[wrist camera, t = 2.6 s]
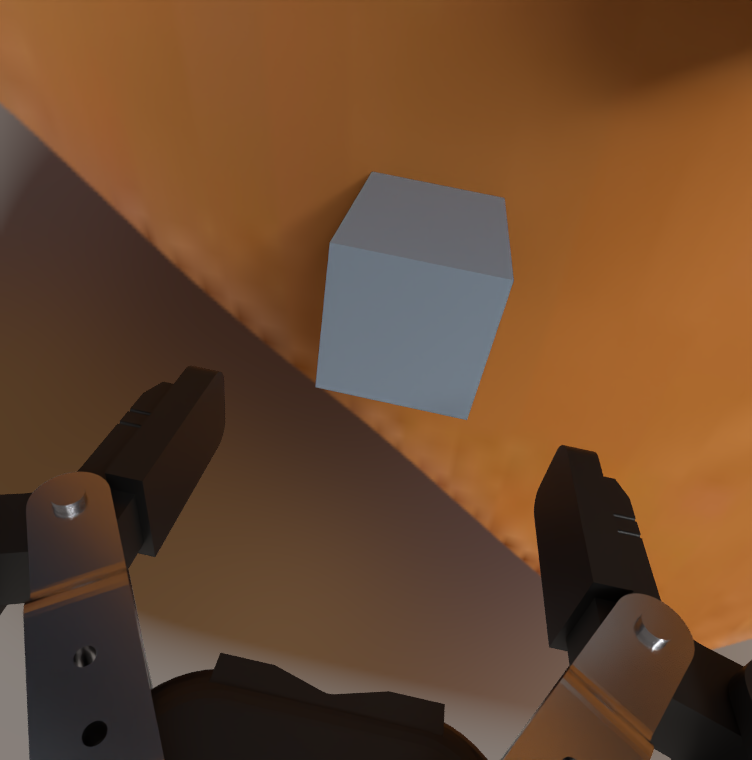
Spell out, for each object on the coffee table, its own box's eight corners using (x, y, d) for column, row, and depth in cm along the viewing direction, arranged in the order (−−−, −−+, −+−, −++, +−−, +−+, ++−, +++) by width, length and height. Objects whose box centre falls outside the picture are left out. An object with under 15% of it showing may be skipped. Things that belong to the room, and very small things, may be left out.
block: (372, 171, 20) (329, 242, 14) (504, 197, 20) (513, 280, 14) (355, 290, 23) (315, 387, 17) (470, 314, 23) (466, 419, 17)
